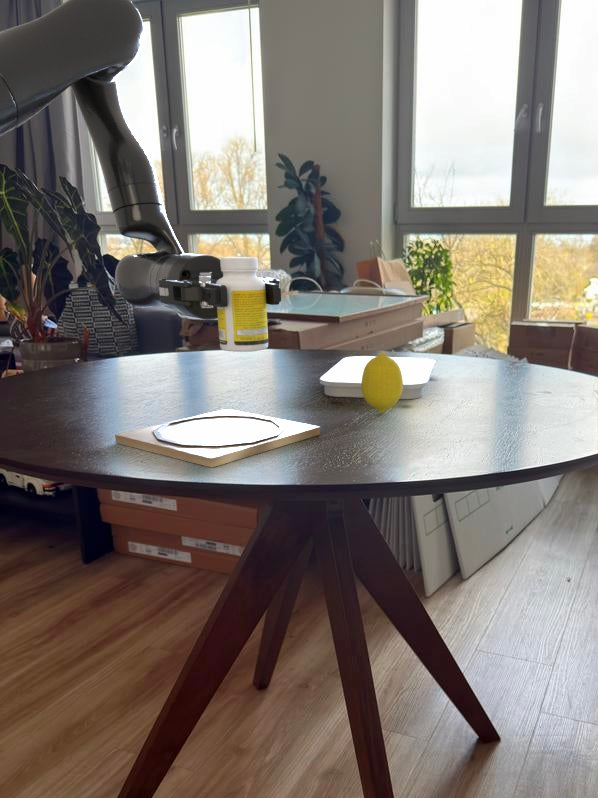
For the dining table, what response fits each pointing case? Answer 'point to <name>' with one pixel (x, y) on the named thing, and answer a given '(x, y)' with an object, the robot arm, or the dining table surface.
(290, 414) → the dining table surface
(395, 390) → the lemon
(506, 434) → the dining table surface
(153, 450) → the mirror board
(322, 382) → the white rectangular tray
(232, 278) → the supplement bottle
